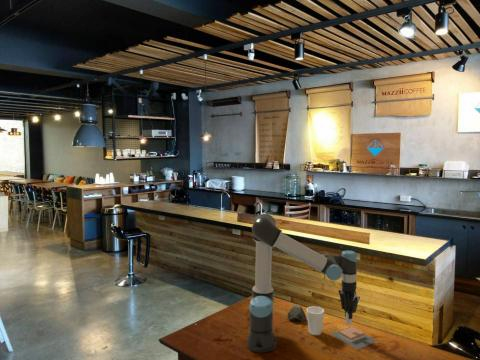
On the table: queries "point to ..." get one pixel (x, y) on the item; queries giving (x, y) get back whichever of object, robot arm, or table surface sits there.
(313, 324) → the foam cup
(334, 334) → the mat
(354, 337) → the tile
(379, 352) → the table surface
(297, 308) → the fossil
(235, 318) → the table surface
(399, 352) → the table surface
